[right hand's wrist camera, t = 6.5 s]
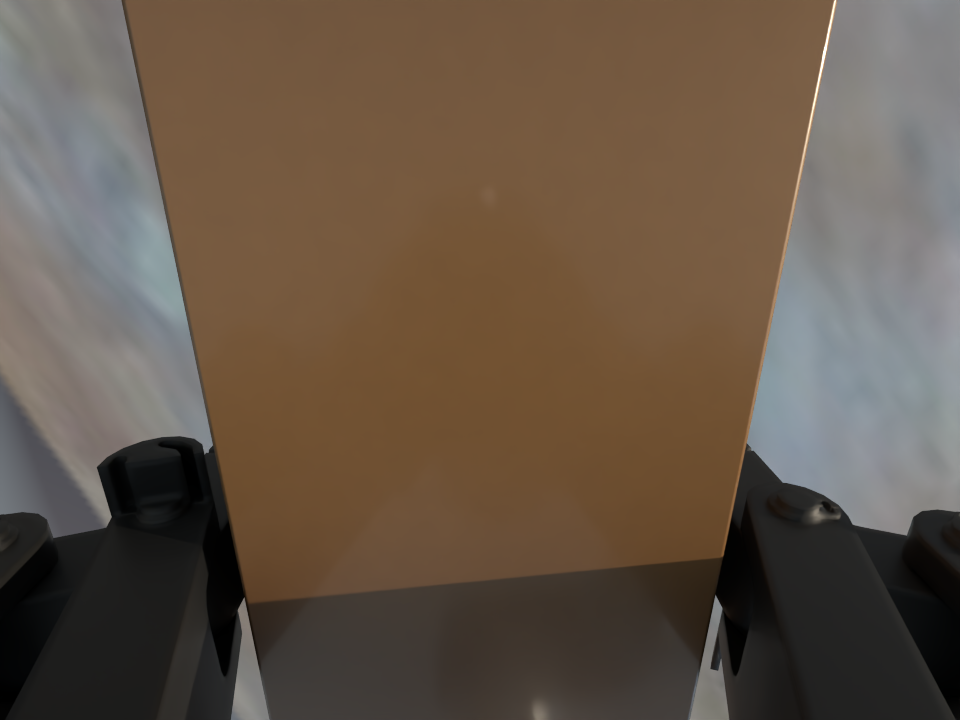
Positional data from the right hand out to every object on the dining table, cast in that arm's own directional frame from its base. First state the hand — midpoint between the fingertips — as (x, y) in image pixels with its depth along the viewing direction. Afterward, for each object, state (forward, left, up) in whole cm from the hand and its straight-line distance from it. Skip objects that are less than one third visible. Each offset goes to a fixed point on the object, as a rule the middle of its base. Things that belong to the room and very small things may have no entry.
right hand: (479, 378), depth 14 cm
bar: (+7, +7, 0) cm, 10 cm away
